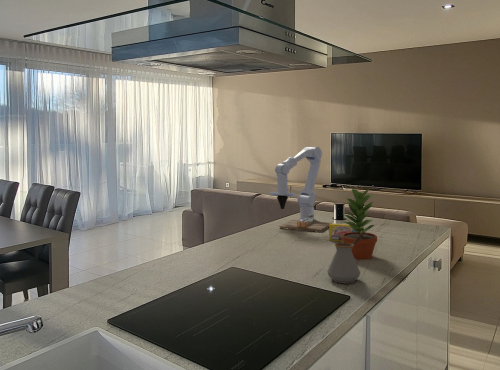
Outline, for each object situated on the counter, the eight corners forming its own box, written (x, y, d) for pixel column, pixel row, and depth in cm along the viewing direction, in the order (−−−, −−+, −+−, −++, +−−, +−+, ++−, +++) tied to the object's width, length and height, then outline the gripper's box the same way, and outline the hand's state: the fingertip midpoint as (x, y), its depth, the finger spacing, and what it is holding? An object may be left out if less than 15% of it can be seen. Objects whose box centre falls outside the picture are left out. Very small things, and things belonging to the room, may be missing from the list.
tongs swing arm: (305, 222, 256) (305, 217, 256) (308, 222, 255) (308, 217, 255) (296, 226, 245) (296, 221, 244) (300, 226, 244) (300, 222, 243)
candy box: (328, 241, 219) (328, 224, 218) (329, 240, 221) (329, 223, 220) (363, 242, 214) (363, 225, 213) (363, 241, 216) (363, 224, 215)
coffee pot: (350, 287, 153) (350, 244, 151) (321, 280, 160) (321, 239, 159) (378, 272, 169) (378, 233, 167) (350, 266, 176) (351, 229, 175)
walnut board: (292, 222, 265) (292, 219, 265) (332, 225, 254) (332, 222, 254) (279, 228, 248) (279, 225, 248) (321, 232, 237) (321, 229, 237)
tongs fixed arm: (308, 221, 260) (308, 214, 259) (315, 221, 258) (315, 214, 257) (297, 226, 244) (297, 219, 244) (304, 227, 243) (304, 220, 242)
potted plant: (338, 251, 199) (339, 183, 195) (374, 251, 197) (375, 183, 194) (341, 261, 184) (342, 188, 181) (380, 261, 182) (381, 187, 179)
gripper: (267, 185, 254) (268, 209, 256) (291, 186, 248) (291, 210, 249) (272, 183, 261) (273, 207, 262) (296, 184, 254) (296, 208, 256)
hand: (282, 208), depth 256 cm, fingers closed
